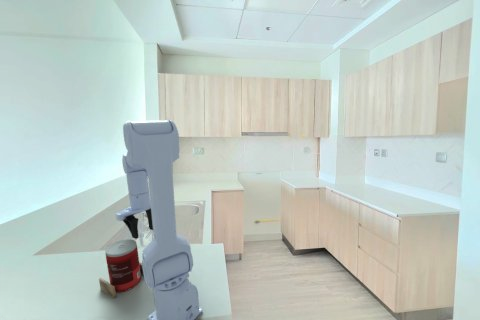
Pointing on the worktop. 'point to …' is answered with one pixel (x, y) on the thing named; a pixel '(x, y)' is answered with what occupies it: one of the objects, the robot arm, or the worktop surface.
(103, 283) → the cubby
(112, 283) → the canned food
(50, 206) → the worktop surface
